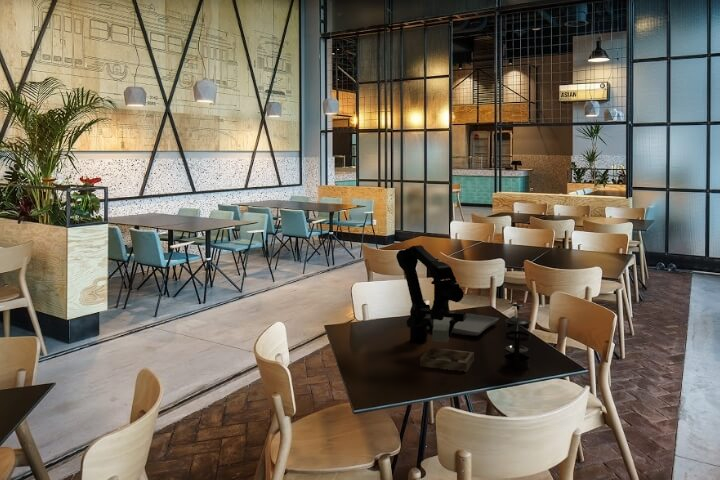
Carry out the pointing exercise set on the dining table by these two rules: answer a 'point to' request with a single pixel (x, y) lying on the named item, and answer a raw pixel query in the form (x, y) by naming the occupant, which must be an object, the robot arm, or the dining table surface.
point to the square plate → (469, 324)
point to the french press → (517, 344)
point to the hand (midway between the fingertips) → (440, 335)
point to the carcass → (447, 359)
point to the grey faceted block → (440, 333)
